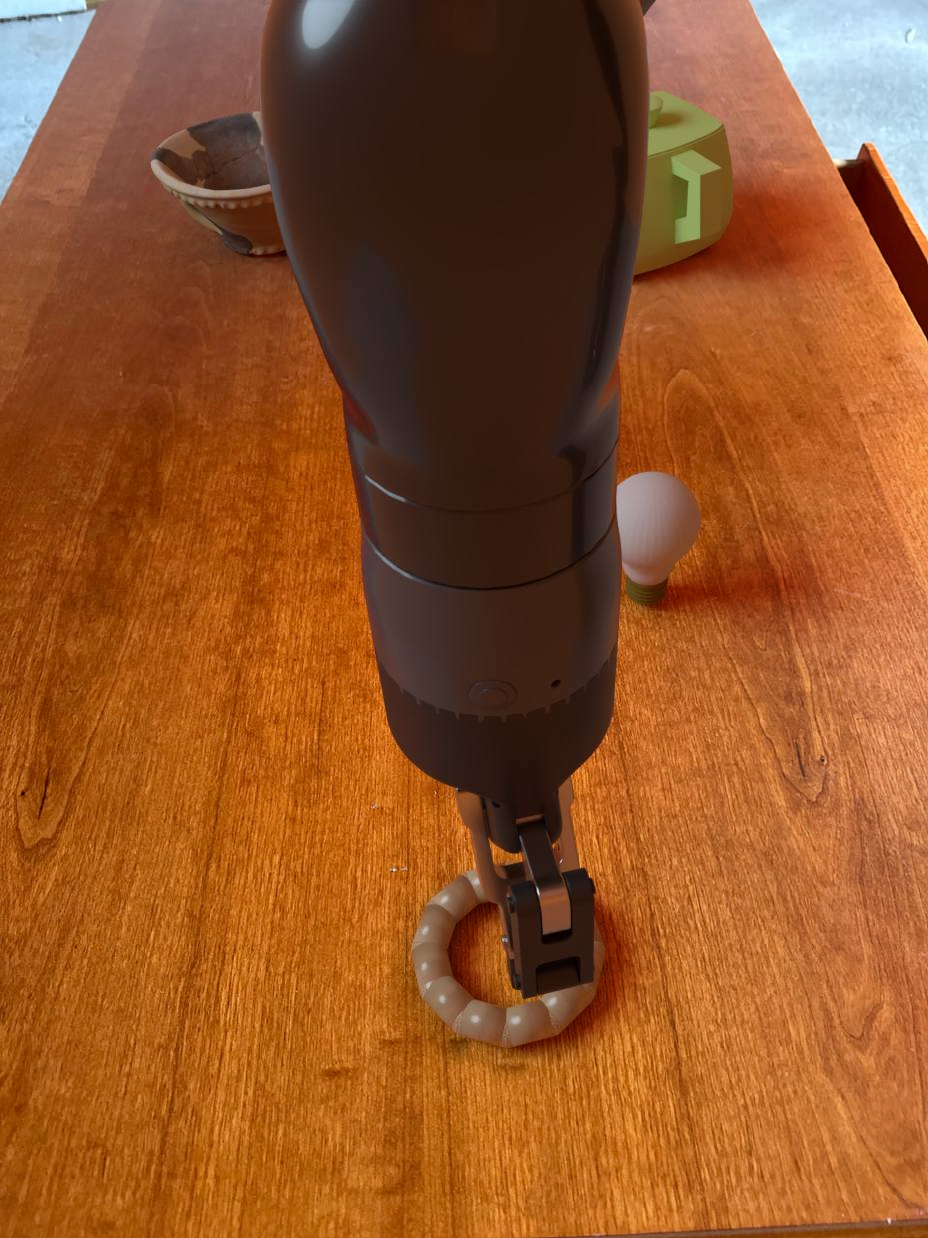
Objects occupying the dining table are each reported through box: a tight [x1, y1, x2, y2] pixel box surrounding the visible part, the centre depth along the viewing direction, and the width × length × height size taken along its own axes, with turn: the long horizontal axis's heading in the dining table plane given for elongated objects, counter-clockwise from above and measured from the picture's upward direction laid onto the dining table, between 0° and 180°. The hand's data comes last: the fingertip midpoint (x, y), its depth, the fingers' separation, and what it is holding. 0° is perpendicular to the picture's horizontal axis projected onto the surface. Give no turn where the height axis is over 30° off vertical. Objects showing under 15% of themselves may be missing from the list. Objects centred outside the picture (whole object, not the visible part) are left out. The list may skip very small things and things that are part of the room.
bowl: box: [150, 110, 286, 256], centre depth 106 cm, size 18×18×10 cm
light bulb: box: [617, 470, 702, 606], centre depth 71 cm, size 6×6×10 cm
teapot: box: [634, 90, 734, 276], centre depth 99 cm, size 18×20×13 cm
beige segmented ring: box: [410, 861, 606, 1049], centre depth 58 cm, size 10×10×2 cm
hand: (510, 880), depth 46 cm, fingers open, 8 cm apart
